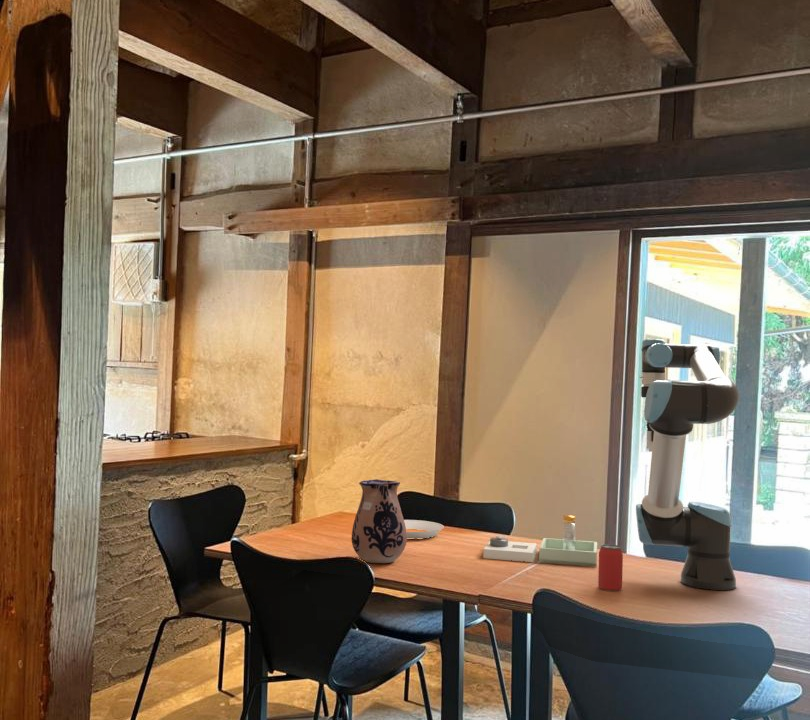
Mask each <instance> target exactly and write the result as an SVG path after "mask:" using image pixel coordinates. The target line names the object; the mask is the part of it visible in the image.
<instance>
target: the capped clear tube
mask: <svg viewBox="0 0 810 720" xmlns="http://www.w3.org/2000/svg"><path fill="white" fill-rule="evenodd" d="M576 519H577V517H576V515H571V514H566V515H563V517H562V539H563V549H566V550H575V540H576Z"/></svg>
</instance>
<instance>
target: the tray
mask: <svg viewBox="0 0 810 720" xmlns="http://www.w3.org/2000/svg"><path fill="white" fill-rule="evenodd" d="M597 560H598V541H589V540H576V539H575V550H566V549H563V538H562V539H561V538H549V537H543V539H542V541H541V543H540V546H539V554H538V562H539V563H547V564H559V565H571V566H581V565H582V566H581V567H593V566H596V567H597V566H598V565H597V563H598V562H597Z"/></svg>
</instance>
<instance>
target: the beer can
mask: <svg viewBox="0 0 810 720" xmlns="http://www.w3.org/2000/svg"><path fill="white" fill-rule="evenodd" d="M623 559H624V554H623V551H622V546H620V545H617V544H611V543H610V544H608V543H606V544H601V545H600V548H599V551H598V574H597V575H598V578H597V579H598V580H597V581H598V582H597V584H598V588H599V589H601V590H602V589H603V591H606V590H607V591H606V592H618V591H621V590H622V589H623V566H624V565H623V562H624V560H623Z"/></svg>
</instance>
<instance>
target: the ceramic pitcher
mask: <svg viewBox="0 0 810 720" xmlns="http://www.w3.org/2000/svg"><path fill="white" fill-rule="evenodd" d="M358 484H359V485H360V486H361V489H362V495H361V499H360V502H359V505H358V509H357V511H356V514H355V518H354V521H353V524H352V529H351V543H352V547H353V550H354V552H355V553H356V554H357V556H358V557H360V559H361V560H362V561H364V560H365V561H364V562H366V563H370V564H391V563H393V562H395V561H396V560H398V558H399V557H401V555H402V554H403V552H404V551H405V549H406V546H407V541H408V539H407V532H406V526H405V522H404V520H405V519H404V516H403V513H402V508H401V505H400V502H399V498H398V487H399V485H400V484H401V483H400V481H395V480H385V479H383V480H382V479H378V478H375V479H368V480H367V479H366V480H362V481H359V483H358Z"/></svg>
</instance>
